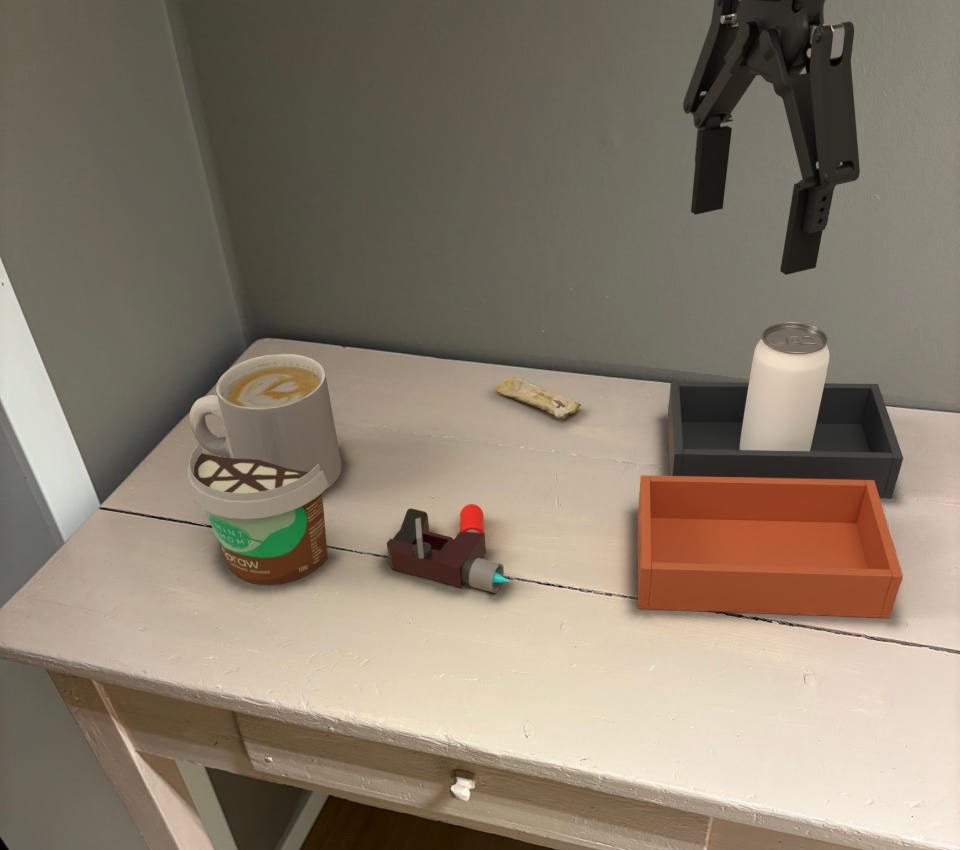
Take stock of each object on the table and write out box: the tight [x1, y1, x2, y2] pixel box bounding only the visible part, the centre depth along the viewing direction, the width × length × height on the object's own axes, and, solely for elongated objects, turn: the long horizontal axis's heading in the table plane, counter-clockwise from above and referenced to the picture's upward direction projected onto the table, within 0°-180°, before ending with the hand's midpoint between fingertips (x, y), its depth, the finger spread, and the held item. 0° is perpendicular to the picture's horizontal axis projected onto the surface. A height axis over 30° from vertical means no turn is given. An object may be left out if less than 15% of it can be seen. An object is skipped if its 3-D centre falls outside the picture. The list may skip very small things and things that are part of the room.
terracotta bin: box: [637, 474, 904, 619], centre depth 82 cm, size 20×13×4 cm, turn 84°
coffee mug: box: [189, 353, 343, 491], centre depth 94 cm, size 13×10×10 cm
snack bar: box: [495, 376, 582, 419], centre depth 103 cm, size 10×2×3 cm
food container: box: [187, 442, 329, 586], centre depth 83 cm, size 12×6×10 cm, turn 70°
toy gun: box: [386, 503, 511, 593], centre depth 85 cm, size 10×12×5 cm
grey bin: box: [666, 381, 904, 499], centre depth 93 cm, size 20×13×4 cm, turn 84°
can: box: [740, 321, 830, 451], centre depth 90 cm, size 6×6×12 cm
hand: (749, 238), depth 81 cm, fingers open, 13 cm apart
